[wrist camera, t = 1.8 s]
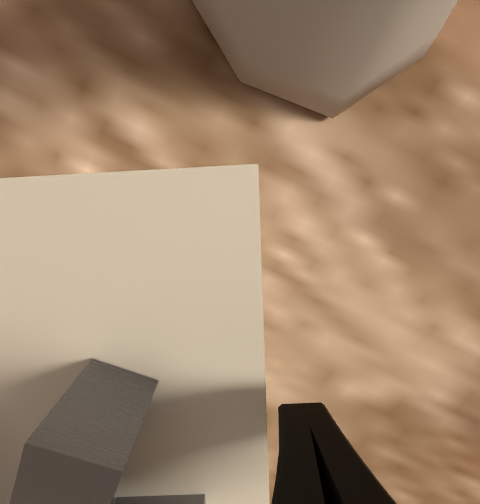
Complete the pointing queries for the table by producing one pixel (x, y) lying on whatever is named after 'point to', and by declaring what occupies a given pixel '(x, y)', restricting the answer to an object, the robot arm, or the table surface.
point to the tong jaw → (85, 439)
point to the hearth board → (141, 320)
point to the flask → (322, 44)
